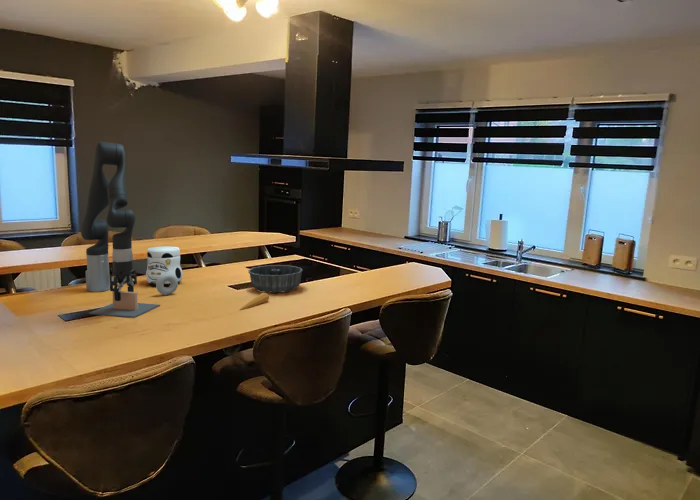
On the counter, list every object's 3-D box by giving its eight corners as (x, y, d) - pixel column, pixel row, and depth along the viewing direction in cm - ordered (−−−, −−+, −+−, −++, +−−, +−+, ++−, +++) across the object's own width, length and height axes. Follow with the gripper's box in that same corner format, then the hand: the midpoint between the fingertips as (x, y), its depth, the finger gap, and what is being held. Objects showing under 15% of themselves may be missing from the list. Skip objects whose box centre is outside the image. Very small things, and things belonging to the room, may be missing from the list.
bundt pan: (237, 292, 241) (237, 271, 239) (266, 281, 265) (266, 262, 264) (285, 298, 231) (286, 277, 230) (311, 286, 255) (311, 267, 254)
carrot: (264, 302, 227) (261, 292, 227) (272, 299, 225) (268, 290, 225) (235, 317, 210) (231, 307, 210) (243, 314, 208) (239, 304, 208)
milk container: (148, 289, 243) (146, 252, 240) (144, 281, 258) (143, 246, 255) (185, 285, 251) (184, 250, 248) (179, 278, 266) (178, 245, 263)
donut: (157, 297, 228) (157, 275, 226) (155, 295, 231) (154, 274, 229) (179, 294, 234) (178, 273, 233) (176, 292, 237) (175, 271, 235)
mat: (88, 314, 200) (88, 312, 200) (117, 302, 217) (117, 301, 217) (134, 317, 196) (134, 316, 196) (159, 306, 214) (159, 304, 214)
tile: (113, 308, 207) (112, 291, 205) (116, 307, 208) (115, 290, 207) (135, 310, 205) (134, 293, 204) (138, 308, 207) (137, 292, 205)
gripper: (125, 255, 211) (126, 293, 214) (102, 261, 197) (104, 301, 200) (141, 256, 210) (142, 294, 212) (120, 263, 196) (121, 303, 199)
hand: (124, 298), depth 206 cm, fingers open, 8 cm apart
